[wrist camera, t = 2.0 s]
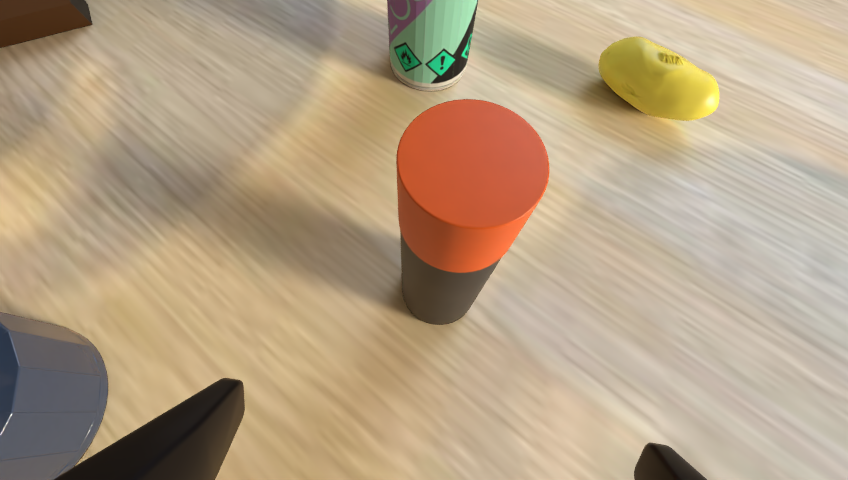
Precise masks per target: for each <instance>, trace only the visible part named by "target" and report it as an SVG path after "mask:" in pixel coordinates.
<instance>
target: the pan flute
mask: <svg viewBox="0 0 848 480" xmlns="http://www.w3.org/2000/svg"><path fill="white" fill-rule="evenodd" d="M88 25H92V21H91V17H90V12H89V8H88V4H87V3H86V1H85V0H0V48H2V47H6V46H9V45H13V44H17V43H21V42H25V41H29V40H33V39H37V38H41V37H45V36H49V35H53V34H57V33H60V32H64V31H68V30H72V29H76V28H80V27H84V26H88Z"/></svg>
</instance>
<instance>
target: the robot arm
mask: <svg viewBox="0 0 848 480" xmlns="http://www.w3.org/2000/svg"><path fill="white" fill-rule="evenodd" d="M244 410H245V405H244V387H243V383H242V381H240V380H236V379H230V378H223V379H220V380H219V381H217V382H215V383H214V384H212V385H210V386H208V387H207V388H205V389H203V390H202V391H200V392H198V393H197V394H195V395H193V396H192V397H190V398H188V399H187V400H185V401H183V402H182V403H180V404H178V405H177V406H175V407H173V408H172V409H170V410H168V411H167V412H165V413H163V414H162V415H160V416H158V417H157V418H155V419H153V420H152V421H150V422H148V423H147V424H145V425H143V426H142V427H140V428H138V429H137V430H135V431H133V432H132V433H130V434H128V435H127V436H125V437H123V438H122V439H120V440H118V441H117V442H115V443H113V444H112V445H110V446H108V447H107V448H105V449H103V450H102V451H100V452H98V453H97V454H95V455H93V456H92V457H90V458H88V459H87V460H85V461H83V462H82V463H80V464H78V465H77V466H75V467H73V468H72V469H70V470H68V471H67V472H65V473H63V474H62V475H60V476H58V477H57V478H55V479H53V480H215V478H216V476H217V474H218V472H219V470H220V467H221V465H222V463H223V461H224V458H225V456H226V454H227V452H228V450H229V447H230V445H231V443H232V441H233V438H234V436H235V434H236V432H237V430H238V427H239V425H240V423H241V421H242V418H243V415H244ZM634 479H635V480H707V479H706V478H705V477H703V476H702V475H701V474H700V473H699V472H698V471H697V470H696V469H694V468H693V467H692V466H691V465H690V464H689V463H688V462H687V461H685V460H684V459H683V458H682V457H681V456H680V455H679V454H677V453H676V452H675V451H674V450H673V449H672V448H670V447H669V446H667V445H662V444H656V443H648V444H647V445H646V446H645V447H644V449H643V452H642V454H641V456H640V458H639V460H638V462H637V464H636V467H635V471H634Z"/></svg>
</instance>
